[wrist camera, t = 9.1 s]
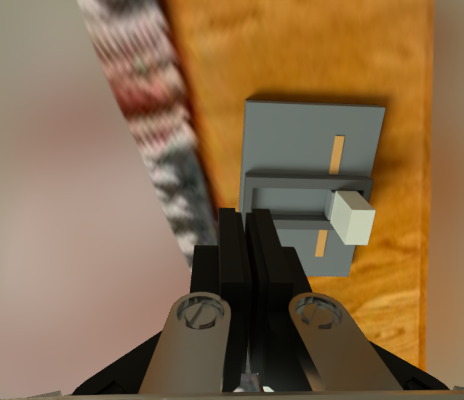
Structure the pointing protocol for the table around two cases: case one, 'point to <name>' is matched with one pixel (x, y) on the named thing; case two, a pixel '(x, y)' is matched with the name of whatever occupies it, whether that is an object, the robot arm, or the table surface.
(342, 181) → the console
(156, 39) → the table surface
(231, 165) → the table surface
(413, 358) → the table surface
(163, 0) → the table surface
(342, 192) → the fader
